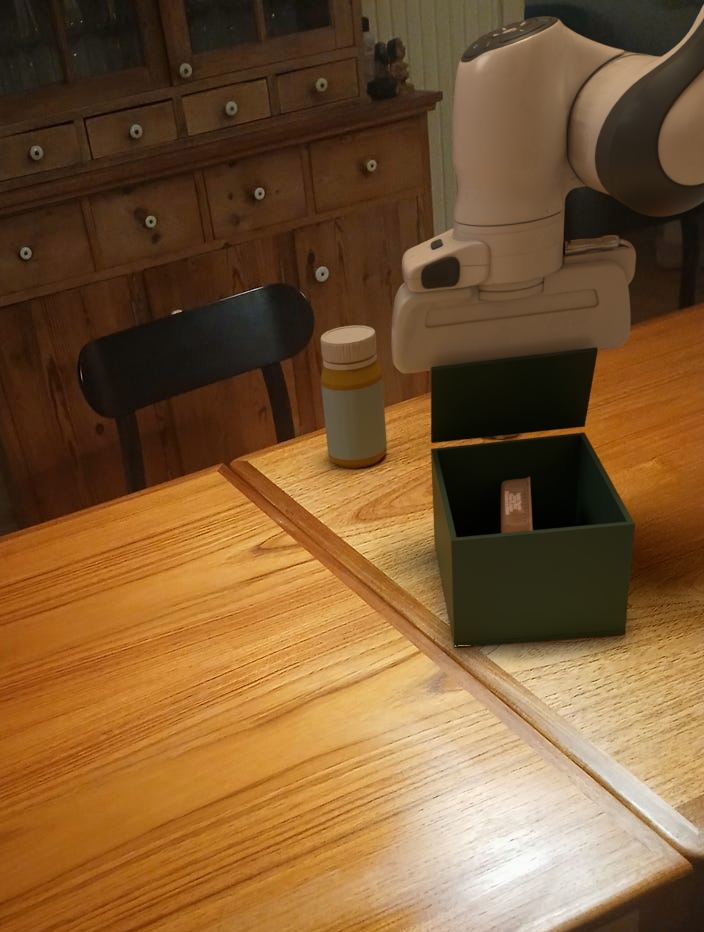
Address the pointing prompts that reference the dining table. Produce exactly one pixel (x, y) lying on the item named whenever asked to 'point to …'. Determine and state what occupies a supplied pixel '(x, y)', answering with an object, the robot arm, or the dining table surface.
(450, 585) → the green hinged-lid box
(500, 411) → the flap
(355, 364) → the bottle
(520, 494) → the tin
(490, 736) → the dining table surface
